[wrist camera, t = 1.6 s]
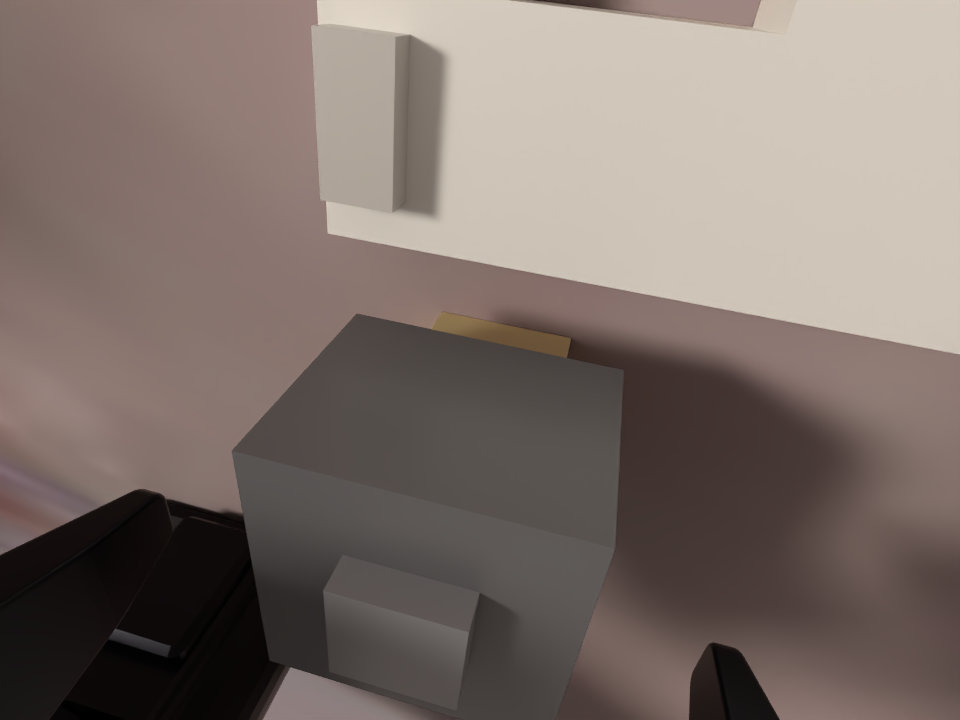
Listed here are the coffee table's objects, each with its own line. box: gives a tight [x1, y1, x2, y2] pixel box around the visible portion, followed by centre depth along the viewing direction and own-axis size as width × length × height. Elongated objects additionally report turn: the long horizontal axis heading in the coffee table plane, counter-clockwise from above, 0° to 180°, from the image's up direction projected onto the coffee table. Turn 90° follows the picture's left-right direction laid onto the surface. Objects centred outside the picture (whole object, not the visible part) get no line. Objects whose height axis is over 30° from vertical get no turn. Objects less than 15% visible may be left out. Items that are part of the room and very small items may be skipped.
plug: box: [232, 312, 624, 720], centre depth 11 cm, size 5×5×7 cm
